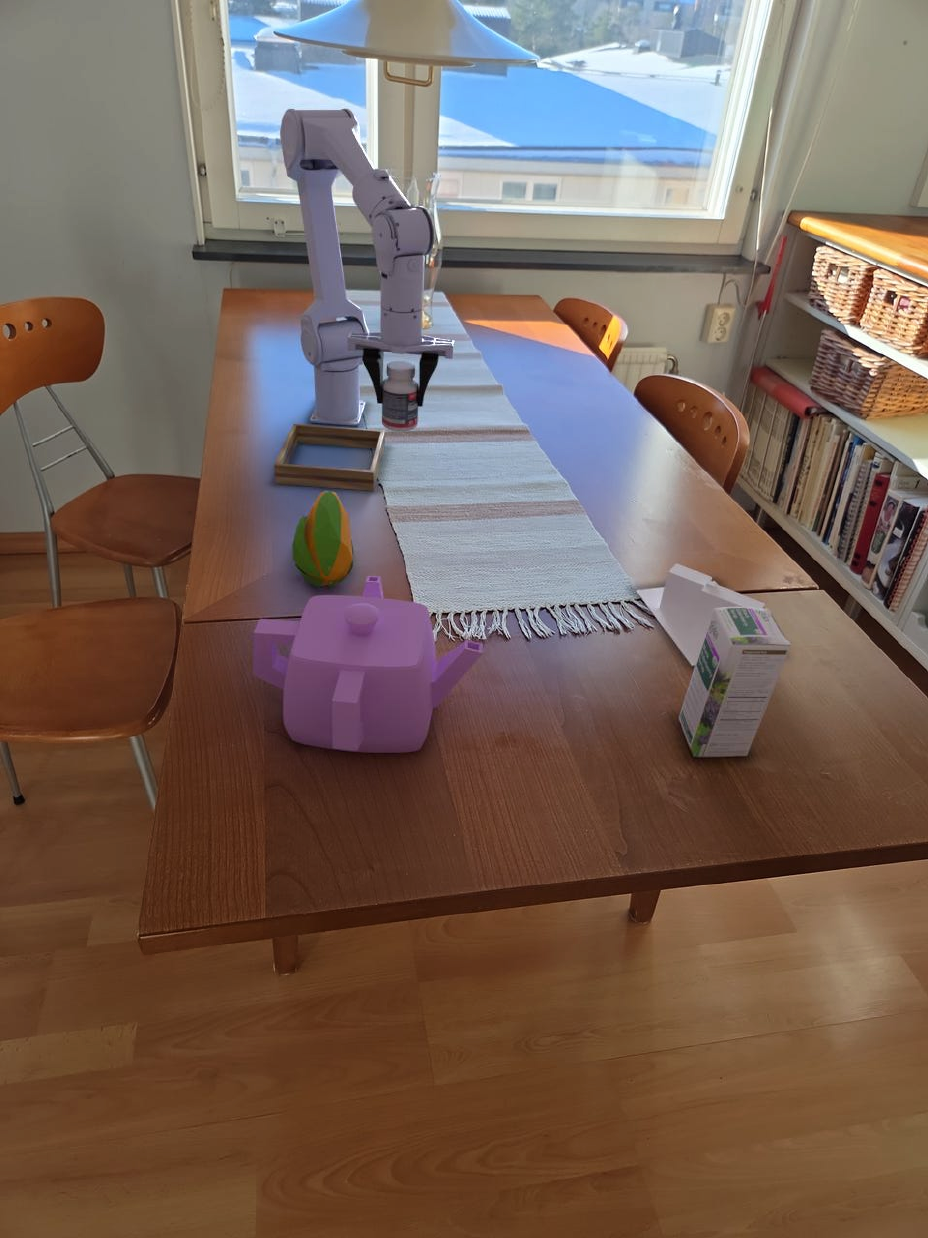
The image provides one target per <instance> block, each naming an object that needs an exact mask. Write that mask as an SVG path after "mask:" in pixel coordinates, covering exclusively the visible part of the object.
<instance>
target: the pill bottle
mask: <svg viewBox="0 0 928 1238" xmlns="http://www.w3.org/2000/svg"><path fill="white" fill-rule="evenodd" d="M385 372H386V376H387V377H385V378H384V379H383V384H382V404H381V425H382V426H383V427H384V428H386V429H387V430H389V431H394V432H408V431H412V430H414V429H416V428H417V426H418V425H419V424H418V423H419V422H418V421H419V418H418V417H419V407H418V392H419V381H418V380H417V379H415V376H416V365H415V364H414V363H413V362H410V361H407V360H392V361H389V362H387V364H386V371H385Z"/></svg>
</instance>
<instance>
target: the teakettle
mask: <svg viewBox="0 0 928 1238" xmlns="http://www.w3.org/2000/svg"><path fill="white" fill-rule="evenodd" d="M278 645H283V646H284V645H285V646H291V649H290V653H289V657H288V658H287V657H285V656H283V655H281V654H279V650H278V649H279V648H278ZM483 645H484V643H482V642H477V641H474V640H471V639H470V640H469V639H466V638H465V639H464V641H463V642H461V643H460V644H459V645H457V646H456V647H455V648H453V649H452V650H450V651H449V652H447V653H446V654H444V655H442V656H441V657H440V658H439V659H437V655H436V654H437V653H436V641H435V636H434V631H433V626H432V621H431V616H430V612H429V608H428V606H426V605H424V604H422V603H418V602H414V601H409V600H401V599H394V598H387V597H384V592H383V584H382V575H370V574H369V575H367V576H366V580H365V586H364V589H363V593H362V595H346V594H345V595H343V594H321V595H319V594H318V595H314V596H311V597H310V598H309V599H308V601H307V603H306V604H305V607H304V610H303V611H302V614H301V617H300V619H299V621H298V620H285V619H269V618H259V620H258V622H257V624H256V627H255V628H254V631H253V653H252V654H253V657H252V658H253V659H252V661H253V662H252V665H253V666H252V675H253V676H255V677H257V678H259V679H261V680H263V681H265V682H267V683H268V684H271V685H273V686H275V687H277V688H278V689H281V690H282V691H283V694H282V695H283V697H282V701H283V702H282V714H283V715H282V716H283V725H284V728H285V730H286V733H287V734H288V736H289V737H290V739H291V740H292V741H293V742H295V743H298V744H302V745H305V746H311V747H316V748H322V749H327V750H335V751H341V752H349V753H352V752H353V753H365V754H366V753H367V754H369V753H370V754H402V753H403V754H404V753H415V752H417V751H419V750H421V749H422V747H423V745H424V743H425V742H426V741H425V740H426V738H427V737H428V733H429V729H430V725H431V720H432V715H433V710H434V709H436V708H438V707H439V706H440V704H441V703H442V702H443V701H444V700H445V698H446V697H447V696H448V695H449V693H451V691H452V690H453V689H454V688H455V687H456V685H458V683H459V682H460V680H462V679H463V677H465V675H466V674H467V672H469V670H470V669H471V668H472V667H473V665H474V664H475V663H476V662H477V661H478V659H479V658H480V657H481V656H482V654H483V647H484V646H483Z"/></svg>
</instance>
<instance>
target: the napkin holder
mask: <svg viewBox="0 0 928 1238" xmlns="http://www.w3.org/2000/svg"><path fill="white" fill-rule="evenodd" d="M712 579H713V577H712V576H711V575H708V574H706V573H703V572H701V571H698V570H695V569H692V568H690V567H688V566H685V565H683V564H680V563H677V562H676V563H675V564H674V565H673V566H672V567H671V568H670V569H669V570H668V571H667V576H666V579H665V584H664V586H661V587H654V588H653V587H652V588H645V589H636V590H635V592H636V593H637V594H638V596H639V597H640V598H641V600H642V601H643V602H644V604H645V606H647V608H648V609H649V610H650V612H651V613H652V615H653V616H654V617H655V619H656V620H657V621H658V622H659V624H660V625H661V627H662V628H663V629H664V631H665V632H666V633H667V635H668V636H669V638H670V639H671V640H672V641H673V642H674V644H675V645H676V646H677V648H678V649H679V651H680V652H681V653H682V655H683V656H684V658H686V660H687V661H688V663H689V664H690V666H692V667H695V665H696V662H697V659H698V656H699V653H700V650H701V647H702V644H703V641H704V638H705V634H706V631H707V628H708V625H709V622H710V619H711V616H712V613H713V609H714V608H720V607H754V608H763V609H765V608H766V603H765V602H762V601H760V600H757V599H755V598H753V597H750V596H747V595H745V594H742V593H739V592H737V591H734V590H732V589H729V588H727V587H724V586H721V585H719V584H718V582H716V581H715V580H712Z"/></svg>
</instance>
